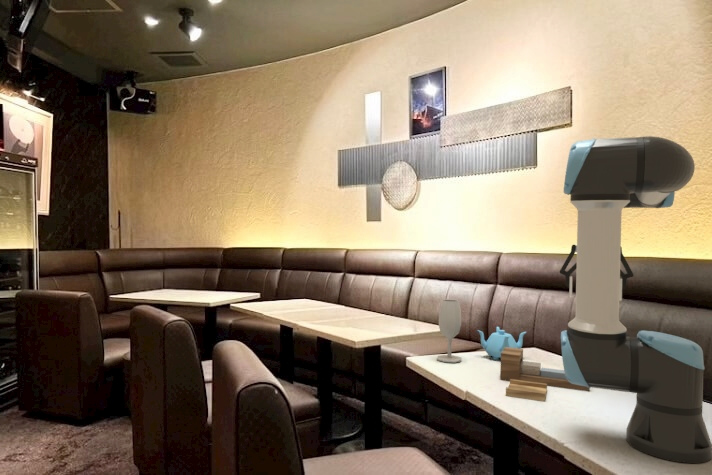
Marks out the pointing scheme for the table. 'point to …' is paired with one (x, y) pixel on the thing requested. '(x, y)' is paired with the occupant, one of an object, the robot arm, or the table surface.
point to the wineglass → (449, 326)
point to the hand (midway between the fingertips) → (594, 298)
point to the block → (530, 368)
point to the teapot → (499, 342)
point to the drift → (553, 373)
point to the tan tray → (527, 390)
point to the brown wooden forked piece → (512, 371)
